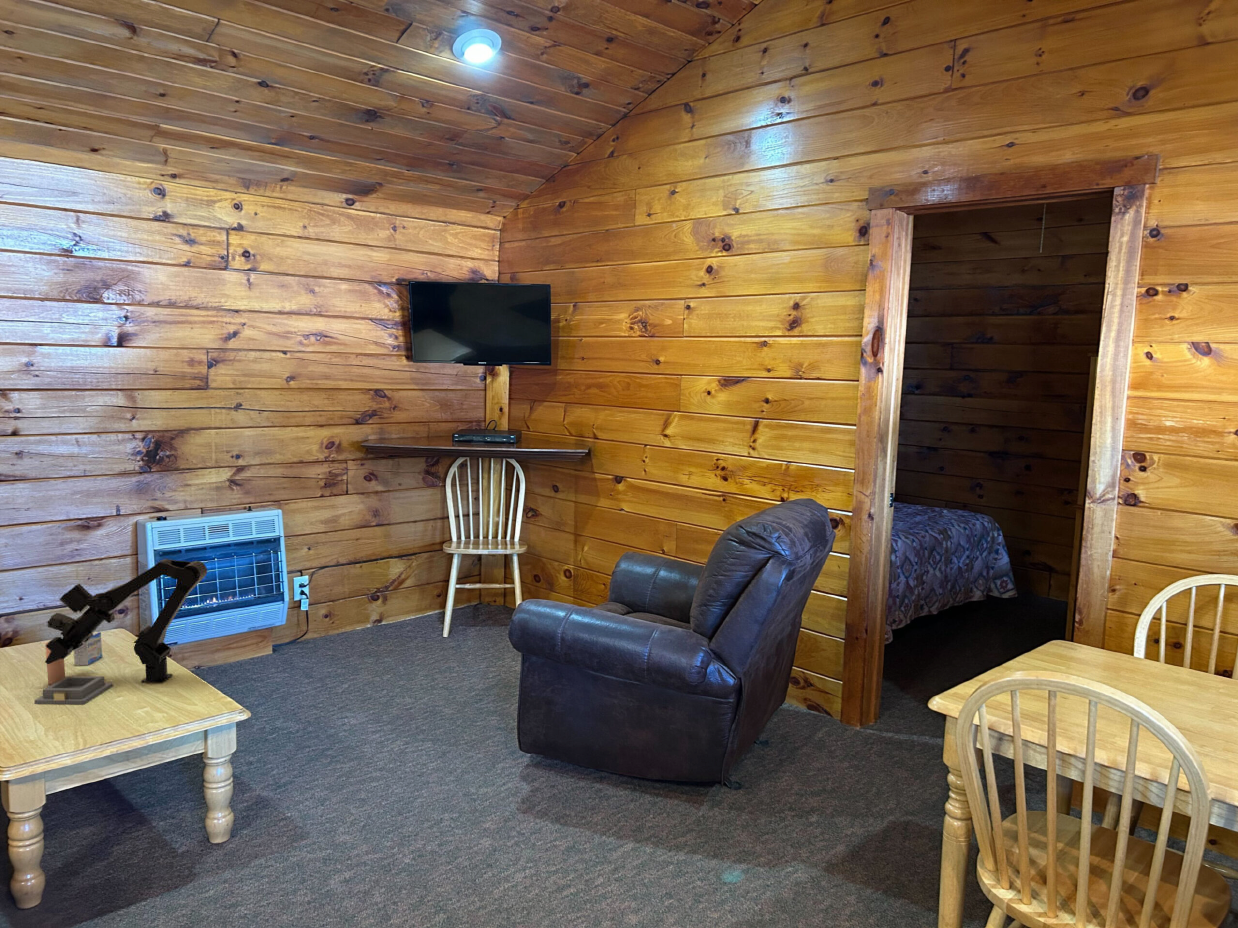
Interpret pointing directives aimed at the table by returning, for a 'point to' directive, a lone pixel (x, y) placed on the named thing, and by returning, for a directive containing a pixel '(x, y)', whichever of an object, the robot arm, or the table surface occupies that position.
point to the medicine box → (89, 651)
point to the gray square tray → (74, 690)
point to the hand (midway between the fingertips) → (50, 660)
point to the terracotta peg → (55, 669)
